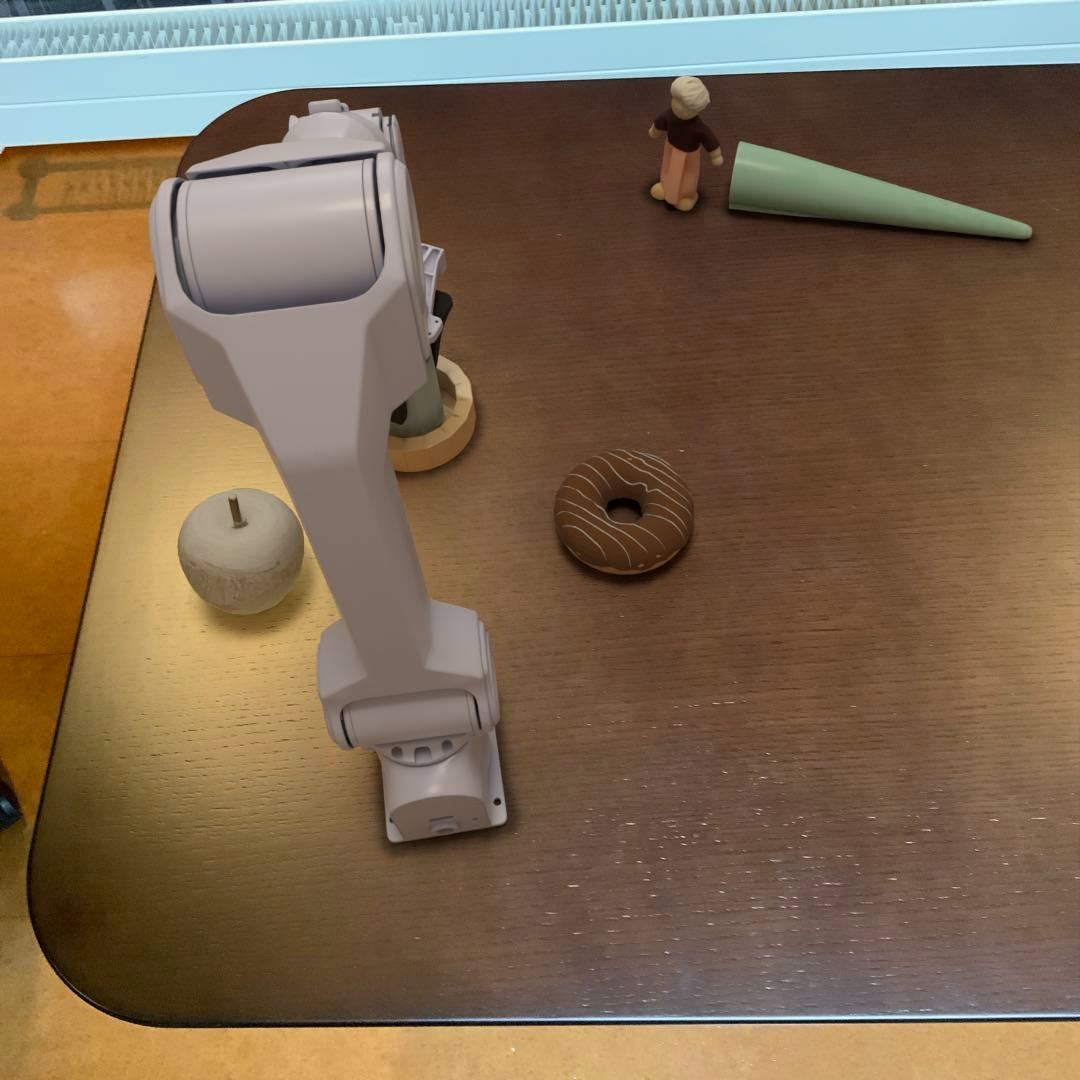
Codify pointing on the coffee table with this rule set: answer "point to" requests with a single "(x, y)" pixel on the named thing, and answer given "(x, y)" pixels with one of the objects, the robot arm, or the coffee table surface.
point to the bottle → (422, 407)
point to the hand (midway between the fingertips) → (408, 393)
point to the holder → (450, 431)
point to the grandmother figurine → (684, 143)
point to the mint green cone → (849, 196)
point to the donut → (622, 542)
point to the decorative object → (241, 550)
